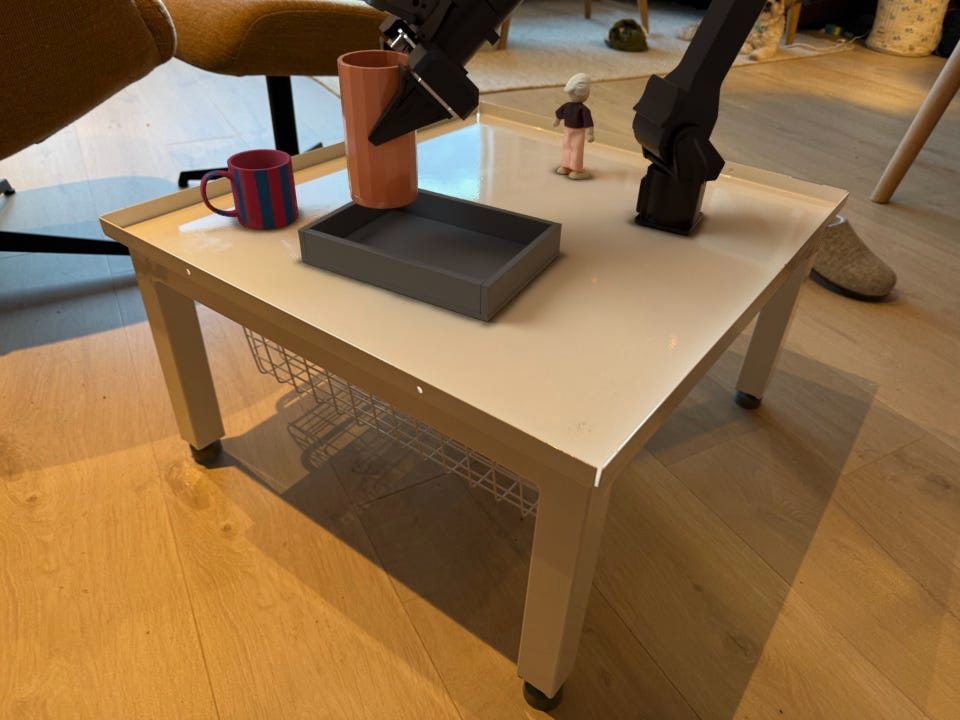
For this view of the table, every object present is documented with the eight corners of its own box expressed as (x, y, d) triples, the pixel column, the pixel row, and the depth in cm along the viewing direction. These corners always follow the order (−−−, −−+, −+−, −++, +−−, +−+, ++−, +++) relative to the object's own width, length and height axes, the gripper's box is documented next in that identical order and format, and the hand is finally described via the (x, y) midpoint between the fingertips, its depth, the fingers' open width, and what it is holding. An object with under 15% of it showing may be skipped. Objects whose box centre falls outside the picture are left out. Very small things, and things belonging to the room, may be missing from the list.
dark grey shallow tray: (559, 255, 74) (562, 223, 71) (487, 322, 62) (489, 287, 60) (391, 209, 82) (389, 180, 80) (301, 261, 71) (297, 229, 69)
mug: (305, 224, 78) (298, 165, 74) (213, 240, 74) (200, 178, 70) (290, 202, 83) (282, 145, 79) (202, 216, 79) (189, 157, 75)
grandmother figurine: (601, 176, 93) (615, 76, 85) (584, 184, 90) (596, 81, 83) (556, 161, 97) (565, 65, 90) (538, 168, 95) (546, 69, 87)
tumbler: (406, 178, 74) (401, 47, 66) (426, 203, 69) (423, 65, 61) (343, 186, 72) (330, 52, 64) (359, 212, 67) (347, 71, 59)
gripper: (396, -84, 65) (291, 47, 69) (440, -67, 51) (303, 98, 54) (475, 8, 71) (375, 123, 75) (535, 46, 57) (407, 186, 61)
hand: (365, 130), depth 66 cm, fingers closed on tumbler, 7 cm apart
